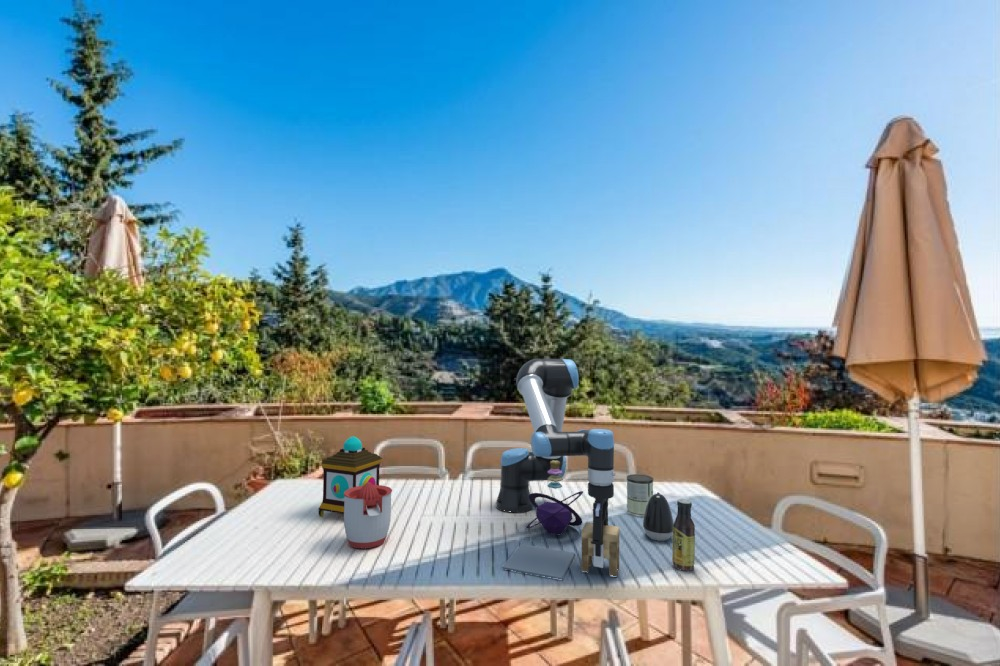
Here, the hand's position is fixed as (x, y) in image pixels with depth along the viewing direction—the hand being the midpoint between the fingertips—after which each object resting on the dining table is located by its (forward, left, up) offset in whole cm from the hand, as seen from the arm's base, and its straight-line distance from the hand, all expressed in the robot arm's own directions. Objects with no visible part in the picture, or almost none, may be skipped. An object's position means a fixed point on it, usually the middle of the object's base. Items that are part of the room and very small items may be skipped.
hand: (600, 560), depth 140 cm
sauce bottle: (+23, +11, -3) cm, 26 cm away
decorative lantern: (-99, +12, -3) cm, 100 cm away
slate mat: (-18, -2, -3) cm, 18 cm away
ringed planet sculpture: (-20, +24, -3) cm, 31 cm away
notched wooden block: (0, 0, -3) cm, 3 cm away
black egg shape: (+15, +32, -3) cm, 35 cm away
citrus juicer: (-75, -10, -3) cm, 76 cm away
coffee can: (+7, +57, -3) cm, 57 cm away
